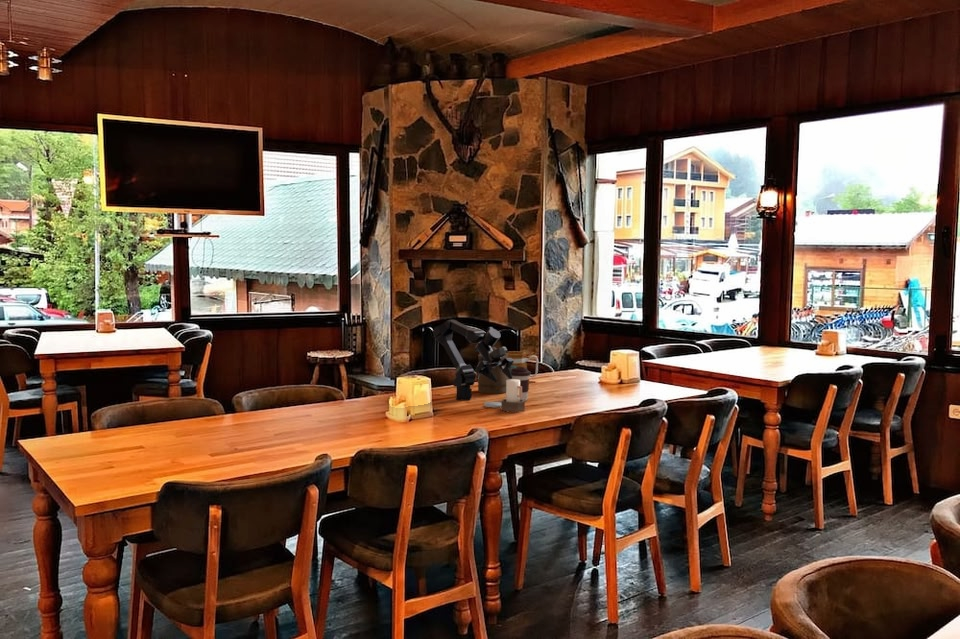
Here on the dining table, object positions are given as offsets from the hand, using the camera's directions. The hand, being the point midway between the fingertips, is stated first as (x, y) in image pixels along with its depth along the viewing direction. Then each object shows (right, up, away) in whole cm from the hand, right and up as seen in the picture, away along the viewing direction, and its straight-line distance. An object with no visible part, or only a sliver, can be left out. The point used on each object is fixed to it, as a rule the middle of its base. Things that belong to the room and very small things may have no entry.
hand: (504, 380), depth 334 cm
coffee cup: (+8, -11, +19) cm, 23 cm away
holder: (+4, -13, -3) cm, 14 cm away
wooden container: (-4, -9, +42) cm, 43 cm away
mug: (+11, -6, +73) cm, 74 cm away
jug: (+4, -13, -3) cm, 14 cm away
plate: (-4, -12, +5) cm, 14 cm away
